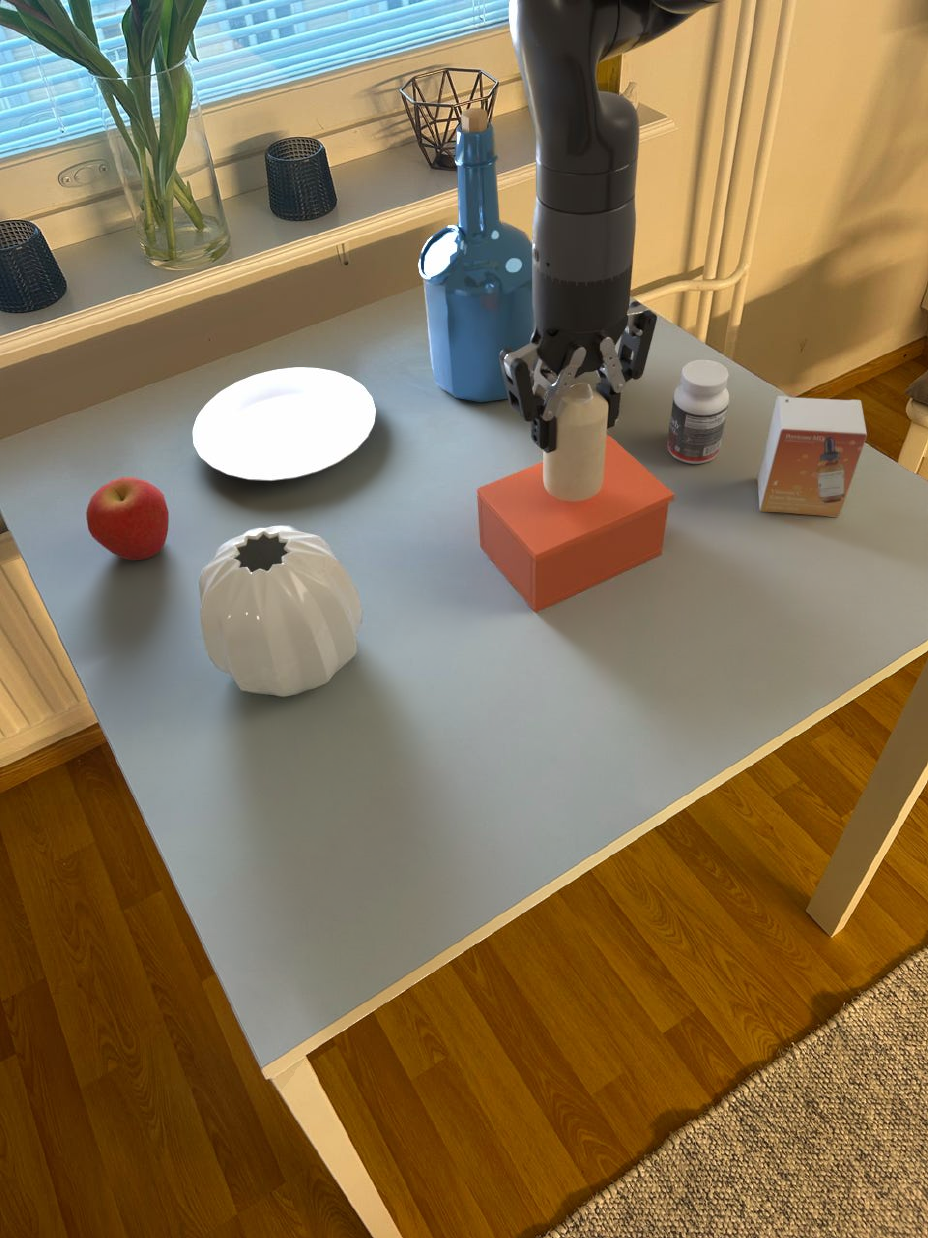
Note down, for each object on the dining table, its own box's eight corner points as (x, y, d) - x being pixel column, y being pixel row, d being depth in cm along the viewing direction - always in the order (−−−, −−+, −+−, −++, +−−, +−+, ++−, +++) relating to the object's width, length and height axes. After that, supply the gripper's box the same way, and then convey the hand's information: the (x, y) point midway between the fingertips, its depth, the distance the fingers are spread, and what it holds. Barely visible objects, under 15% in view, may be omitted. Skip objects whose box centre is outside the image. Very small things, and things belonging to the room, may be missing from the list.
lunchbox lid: (608, 440, 93) (608, 434, 93) (673, 500, 87) (674, 493, 86) (476, 494, 89) (476, 488, 88) (535, 561, 83) (535, 555, 82)
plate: (412, 444, 105) (410, 428, 104) (244, 522, 98) (239, 506, 97) (324, 363, 117) (321, 347, 116) (169, 427, 110) (163, 411, 109)
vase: (223, 608, 90) (185, 504, 80) (366, 593, 91) (346, 488, 81) (210, 724, 81) (165, 623, 71) (370, 708, 81) (347, 605, 71)
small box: (758, 513, 95) (778, 428, 87) (756, 477, 99) (775, 393, 91) (840, 518, 94) (869, 434, 86) (835, 482, 97) (862, 398, 90)
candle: (570, 455, 89) (573, 365, 81) (615, 481, 86) (622, 389, 79) (530, 484, 86) (530, 393, 79) (575, 510, 84) (579, 419, 76)
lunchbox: (600, 494, 98) (603, 442, 93) (661, 554, 92) (669, 502, 87) (479, 546, 94) (476, 495, 89) (535, 613, 88) (535, 562, 83)
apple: (95, 575, 94) (66, 518, 88) (114, 522, 100) (88, 465, 94) (171, 572, 94) (147, 514, 88) (186, 519, 99) (164, 461, 93)
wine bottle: (511, 333, 119) (505, 76, 97) (559, 386, 111) (566, 119, 89) (412, 362, 116) (383, 104, 94) (454, 419, 108) (433, 152, 86)
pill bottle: (666, 431, 104) (676, 354, 97) (718, 434, 104) (732, 356, 96) (666, 464, 101) (677, 387, 93) (720, 467, 100) (735, 389, 93)
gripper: (526, 303, 65) (528, 488, 78) (691, 244, 69) (667, 429, 82) (474, 259, 70) (483, 441, 82) (632, 207, 74) (617, 388, 87)
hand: (575, 434), depth 82 cm, fingers closed on candle, 5 cm apart
